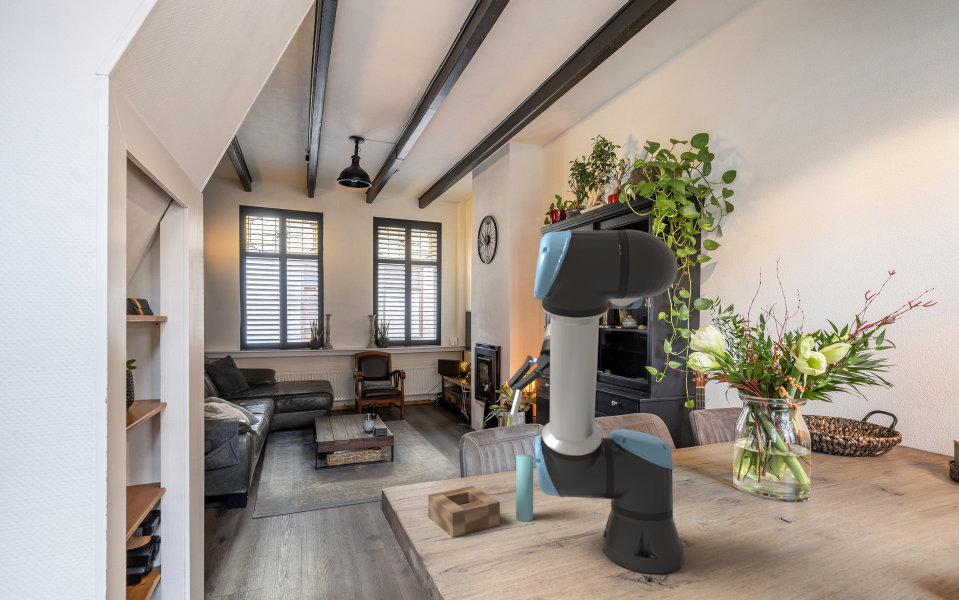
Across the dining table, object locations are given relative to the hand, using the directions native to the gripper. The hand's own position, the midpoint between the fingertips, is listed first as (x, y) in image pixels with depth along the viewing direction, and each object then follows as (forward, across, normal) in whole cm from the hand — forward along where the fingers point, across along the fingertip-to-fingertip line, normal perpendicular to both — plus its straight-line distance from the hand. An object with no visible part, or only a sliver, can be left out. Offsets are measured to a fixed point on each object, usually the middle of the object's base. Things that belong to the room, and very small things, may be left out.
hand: (538, 421), depth 112 cm
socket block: (+26, +12, +1) cm, 29 cm away
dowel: (+21, 0, -6) cm, 22 cm away
